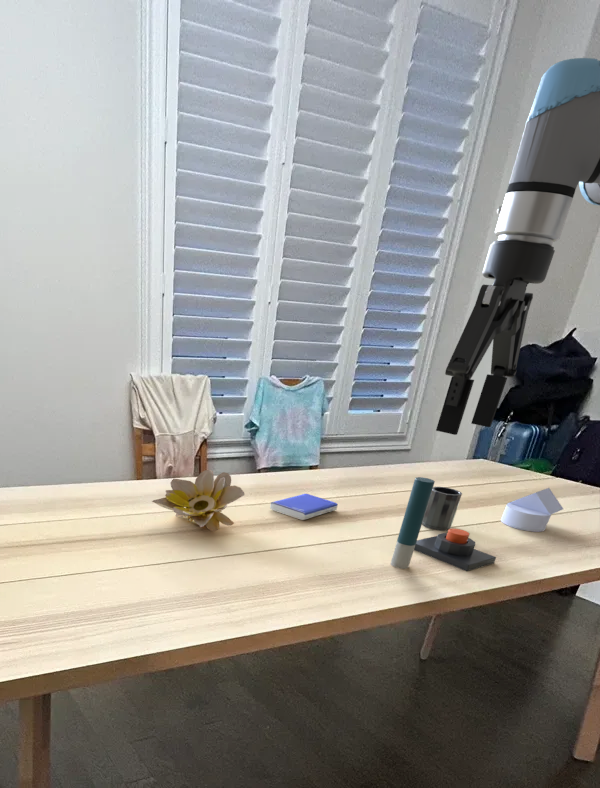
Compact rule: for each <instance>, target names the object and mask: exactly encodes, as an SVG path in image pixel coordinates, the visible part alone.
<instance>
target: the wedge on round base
mask: <svg viewBox="0 0 600 788" xmlns="http://www.w3.org/2000/svg"><path fill="white" fill-rule="evenodd" d="M563 510H564V508H563V506H562V505H561V503H560V501H559V500H558V498H557V497H556V495H555V494H554V493H553V491H552V490H551V488H550V487H546V488H544V489H541V490H539V491H535V492H533V493H530V494H528V495H526V496H525V495H524V496H522V497H519V498H517V499H515V500H512V501H509V502H507V503H506V505H505V508H504V510H503V513H502V515H501V518H500V522H501V523H503V524H504V525H506V526H508V527H510V528H514V529H517V530H520V531H526V532H533V533H534V532H536V533H539V532H544V531H545V530H546V529H547V525H548V523H549V522H550V519H551V516H552V515H554V514H555V513H558V512H560V511H563Z"/></svg>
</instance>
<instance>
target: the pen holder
mask: <svg viewBox="0 0 600 788" xmlns="http://www.w3.org/2000/svg"><path fill="white" fill-rule="evenodd" d="M462 496H463V493H462V491H460V490H457V489H454V488H451V487H447V486H446V487H445V486H433V489H432V492H431V496H430V499H429V502H428V505H427V509H426V512H425V515H424V518H423V522H422V525H421V526H423V527H424V528H427V529H430V530H434V531H441V532H448V530H449V529H452V526H453V523H454V519H455V517H456V514H457V511H458V508H459V505H460V502H461V499H462Z"/></svg>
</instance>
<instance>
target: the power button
mask: <svg viewBox="0 0 600 788" xmlns="http://www.w3.org/2000/svg"><path fill="white" fill-rule="evenodd" d="M446 533H447V536H446V539H447V540H449V541H451V542H455V543H460V544H466V543H467V540H468V538H470V533H469V531H467V530H464V529H461V528H450V529H449V530H448V531H447V532H446Z"/></svg>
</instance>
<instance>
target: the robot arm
mask: <svg viewBox="0 0 600 788" xmlns="http://www.w3.org/2000/svg"><path fill="white" fill-rule="evenodd" d="M578 186H579V191H580V194H581V196H582V198H583V199H584V200H585V201H586V202H587V203H589V204H591V205H593V206H600V60H599V59H597V58H594V57H593V58H592V57H575V58H567V59H563V60H561V61H558V62H555V63H554V64H552V65H550V67H548V69H547V70H546V71H545V72H544V73H543V74H542V76H541V78H540V81H539V84H538V87H537V90H536V93H535V96H534V99H533V102H532V104H531V109H530V111H529V114H528V117H527V119H526V121H525V126H524V128H523V133H522V137H521V139H520V143H519V147H518V150H517V154H516V158H515V161H514V164H513V167H512V171H511V174H510V178H509V182H508V185H507V189H506V193H505V196H504V200H503V203H502V205H499V206H498V207H497V210H496V214H497V216H498V220H497V223H496V227H495V230H494V234H495V236H496V237H498V238H497V240H494V241H492V243H491V244H490V245H489V248H488V252H487V255H486V259H485V262H484V266H483V269H482V276H483V277H484V278H485V279H491V280H493V282H492V284H482V285H481V286H480V288H479V292H478V295H477V297H476V301H475V304H474V306H473V308H472V311H471V313H470V316H469V317H468V319H467V322H466V324H465V326H464V329H463V331H462V333H461V335H460V337H459V339H458V341H457V343H456V346H455V348H454V351H453V352H452V355H451V357H450V359H449V362H448V364H447V366H446V367H445V368H446V369H445V371H444V372H445V373H444V374H445V376H449V377H451V378H450V382H449V384H448V388H447V392H446V395H445V397H444V401H443V405H442V409H441V412H440V415H439V419H438V421H437V422H438V423H437V425H436V428H435V431H436V432H441V433H443V434H444V433H445V434H450V435H454V436H457V435H458V433H459V430H460V426H461V423H462V420H463V418H464V414H465V411H466V407H467V405H468V401H469V397H470V395H471V392H472V389H473V385H474V382H475V379H472V377H473V376H474V374H475V372H476V371H477V369H478V367H479V365H480V363H481V361H482V360H483V359H484V356H485V355H486V353H487V351H488V350H489V347H490V346H491V345H492V353H491V354H492V355H491V362H490V363H491V365H490V374H489V373H488V374H486V377H485V380H484V383H483V385H482V388H481V392H480V395H479V398H478V401H477V405H476V407H475V410H474V413H473V417H472V419H471V423H470V424H472V425H477V426H481V427H485V428H492V424H493V421H494V419H495V415H496V412H497V409H498V406H499V404H500V400H501V399H502V395H503V393H504V389H505V387H506V383H507V380H508V378H515V376H516V374H517V371H518V370H517V367H518V361H519V355H520V351H521V346H522V342H523V338H524V333H525V327H526V324H527V318H528V314H529V310H530V307H531V304H532V301H533V297H534V293H532V292H527V287H528V285H529V284H532V285H533V284H535V285H536V284H542V283H543V282H544V281H546V278H547V275H548V272H549V269H550V266H551V263H552V260H553V257H554V255H555V252H556V251H555V250H554V249H555V247H554V246H553V243H555V242H557V241H558V240H560V238H561V235H562V232H563V229H564V227H565V223H566V220H567V217H568V215H569V211H570V208H571V206H572V203H573V200H574V199H573V198H574V196H575V194H576V190H577V187H578Z"/></svg>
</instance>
